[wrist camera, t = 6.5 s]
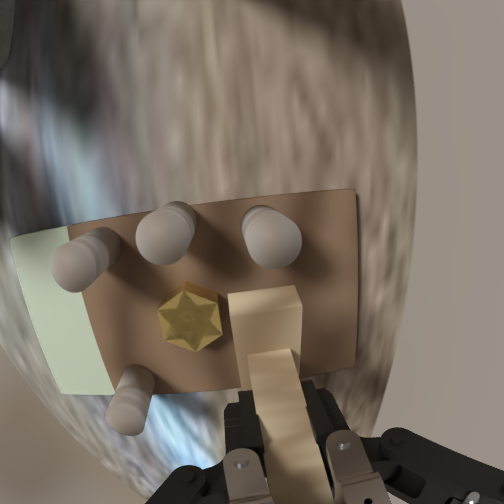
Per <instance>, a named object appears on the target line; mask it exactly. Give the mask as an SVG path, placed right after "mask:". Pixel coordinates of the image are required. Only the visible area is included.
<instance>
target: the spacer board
mask: <svg viewBox="0 0 504 504" xmlns="http://www.w3.org/2000/svg"><path fill="white" fill-rule="evenodd" d="M67 230H68V236H69V242H67V243H65V244H63V245H61V246H59V247H58V248H57V249H56V250H55V251H54V253H53V255H52V258H51V272H52V275H53V277H54V279H55V281H56V282H57V284H58V285H59V286H60V287H61V288H63V289H64V290H66V291H68V292H71V293H78V292H81V293H82V296H83V300H84V304H85V307H86V311H87V314H88V317H89V321H90V324H91V327H92V330H93V333H94V336H95V339H96V342H97V345H98V348H99V351H100V354H101V357H102V360H103V362H104V365H105V368H106V370H107V373H108V376H109V378H110V381H111V383H112V386H113V388H114V391H115V394H114V396H113V398H112V401H111V403H110V406H109V408H108V411H107V413H106V421H107V423H108V425H109V426H110V427H111V428H112V429H113V430H115V431H116V432H118V433H120V434H123V435H127V436H135V435H139V434H140V433H142V431H143V429H144V425H145V421H146V417H147V413H148V409H149V405H150V401H151V398H152V395H153V394H173V393H188V392H201V391H212V390H221V389H230V388H239V387H241V382H240V376H239V370H238V364H237V358H236V352H235V346H234V339H233V333H232V327H231V320H230V313H229V303H228V294H230V293H238V292H246V291H254V290H261V289H269V288H276V287H283V286H290V285H294V286H295V288H296V291H297V293H298V296H299V298H300V301H301V303H302V306H303V308H302V331H301V350H300V367H299V378H303V377H308V376H313V375H318V374H323V373H328V372H332V371H337V370H341V369H346V368H350V367H354V366H355V357H356V339H357V315H358V236H357V211H356V193H355V189H337V190H324V191H312V192H301V193H291V194H280V195H271V196H261V197H252V198H243V199H235V200H226V201H218V202H210V203H203V204H195V205H188V204H186V203H184V202H180V201H175V202H170V203H168V204H166V205H164V206H162V207H161V208H159V209H157V210H154V211H147V212H141V213H135V214H128V215H122V216H116V217H111V218H105V219H99V220H94V221H88V222H83V223H77V224H72V225H69V226H67ZM185 281H188V282H191V283H193V284H196V285H198V286H201V287H203V288H206V289H209V290H211V291H214V292H216V293H218V299H219V305H220V312H221V318H222V332H223V335H221V336H220V337H218V338H217V339H215V340H214V341H212V342H211V343H209V344H208V345H206V346H205V347H203V348H202V349H200V350H199V351H197V352H194V351H191V350H188V349H186V348H183V347H180V346H177V345H175V344H172V343H169V342H167V341H164V337H163V333H162V329H161V325H160V321H159V317H158V312H157V309H158V306H159V304H160V302H161V300H162V299H163V298H164V297H166V296H167V295H168V294H169V293H171V292H172V291H173V290H175V289H176V288H177V287H179V286H180V285H181V284H183V283H184V282H185Z"/></svg>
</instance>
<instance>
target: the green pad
mask: <svg viewBox="0 0 504 504" xmlns="http://www.w3.org/2000/svg"><path fill="white" fill-rule="evenodd" d="M67 226H69V225H67ZM67 226H62V227H57V228H52V229H47V230H42V231H37V232H32V233H28V234H23V235H18V236H15V237H12V238H10V243H11V248H12V252H13V257H14V261H15V265H16V269H17V273H18V277H19V281H20V284H21V288H22V292H23V295H24V298H25V302H26V305H27V308H28V311H29V314H30V317H31V320H32V323H33V326H34V329H35V332H36V334H37V337H38V340H39V342H40V345H41V347H42V350H43V353H44V355H45V357H46V360H47V362H48V365H49V367H50V369H51V372H52V374H53V376H54V378H55V380H56V383H57V385H58V387H59V389H60V391H61V393H62V394H81V395H114V394H115V391H114V388H113V386H112V383H111V381H110V378H109V376H108V373H107V370H106V368H105V365H104V362H103V360H102V357H101V354H100V351H99V348H98V345H97V342H96V339H95V336H94V333H93V330H92V327H91V324H90V321H89V317H88V314H87V311H86V307H85V304H84V300H83V296H82V293H81V292H78V293H71V292H68V291H66V290H64V289H63V288H61V287H60V286H59V285H58V284H57V282H56V281H55V279H54V277H53V275H52V272H51V258H52V255H53V253H54V251H55V250H56V249H57V248H58V247H59V246H61V245H63V244H65V243H67V242H69V236H68V230H67Z"/></svg>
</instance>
